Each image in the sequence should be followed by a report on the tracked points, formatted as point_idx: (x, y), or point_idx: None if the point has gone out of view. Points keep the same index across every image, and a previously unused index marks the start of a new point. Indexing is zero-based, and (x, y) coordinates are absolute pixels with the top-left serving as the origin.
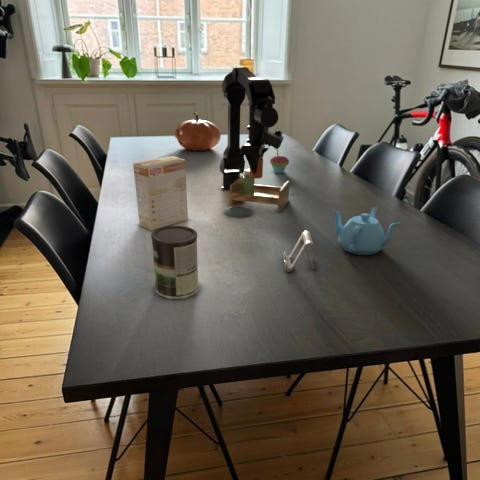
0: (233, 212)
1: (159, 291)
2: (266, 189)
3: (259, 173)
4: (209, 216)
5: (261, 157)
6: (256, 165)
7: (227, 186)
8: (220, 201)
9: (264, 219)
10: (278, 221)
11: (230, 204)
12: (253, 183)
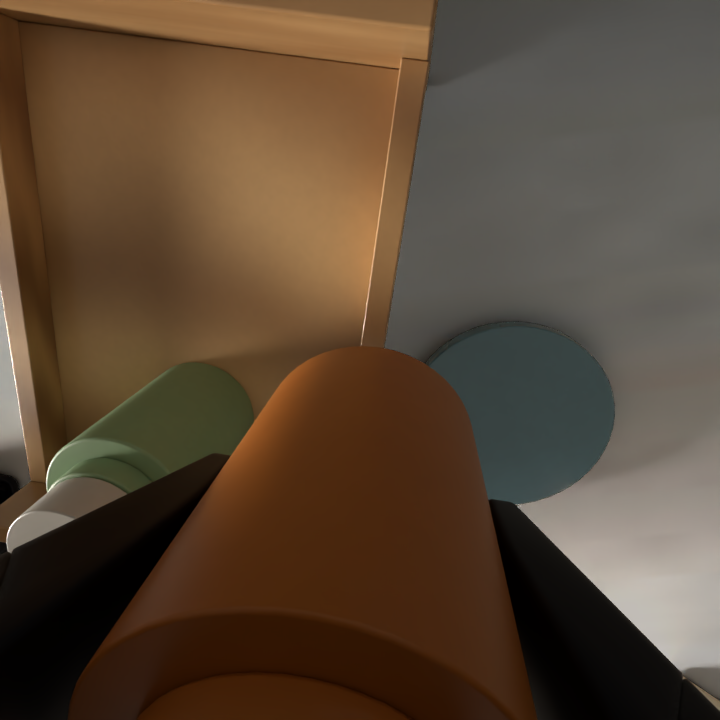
0: (550, 453)
1: None
2: (43, 260)
3: (461, 428)
4: (593, 574)
5: (11, 658)
6: (649, 650)
7: (3, 545)
8: None
9: (648, 196)
10: (707, 48)
11: None
12: (174, 411)
